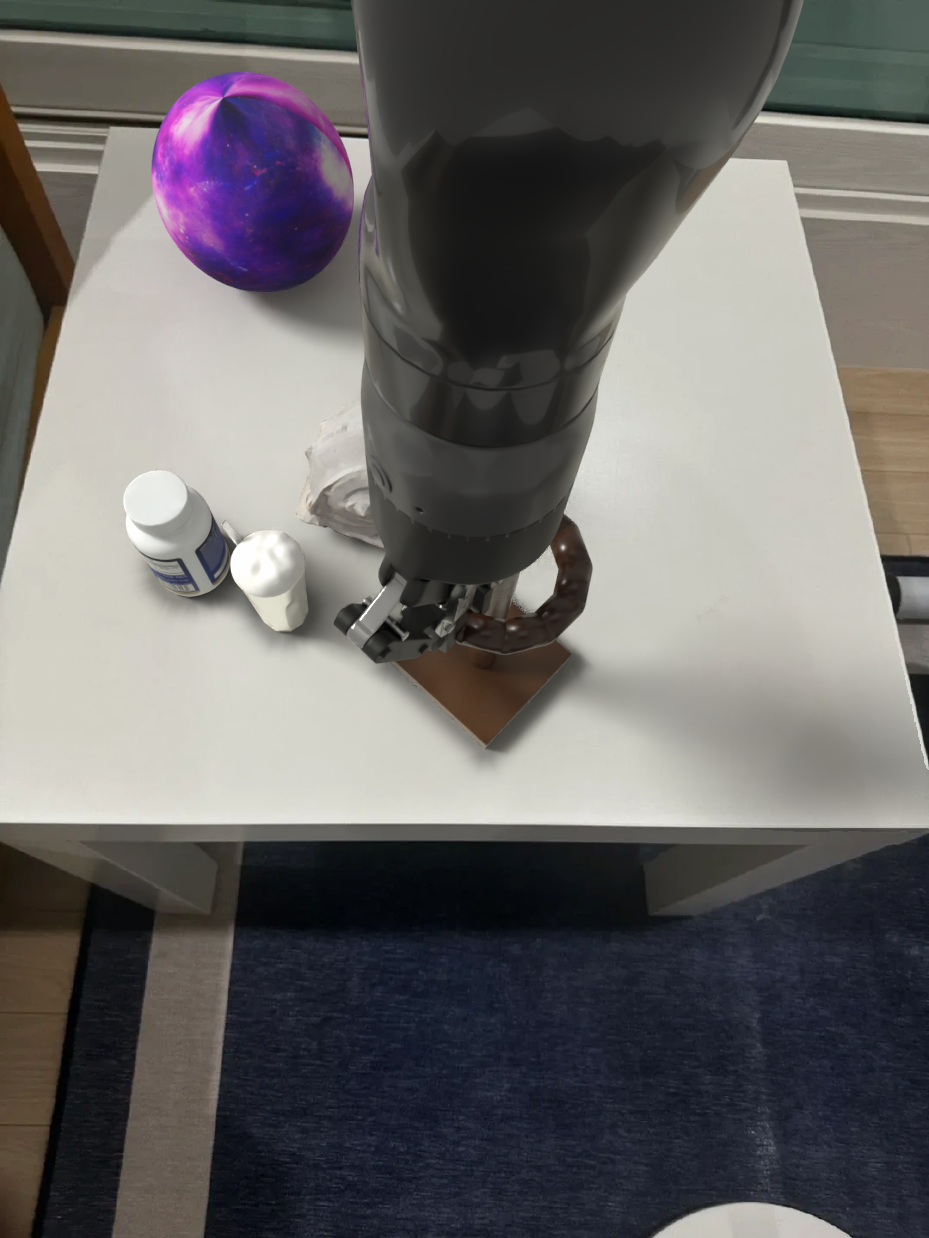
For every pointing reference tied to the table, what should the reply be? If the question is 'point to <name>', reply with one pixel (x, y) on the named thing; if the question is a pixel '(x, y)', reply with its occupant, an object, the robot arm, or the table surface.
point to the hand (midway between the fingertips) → (452, 619)
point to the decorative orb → (252, 182)
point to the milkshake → (271, 576)
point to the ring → (550, 615)
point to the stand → (485, 675)
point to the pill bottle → (175, 533)
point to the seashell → (339, 479)
